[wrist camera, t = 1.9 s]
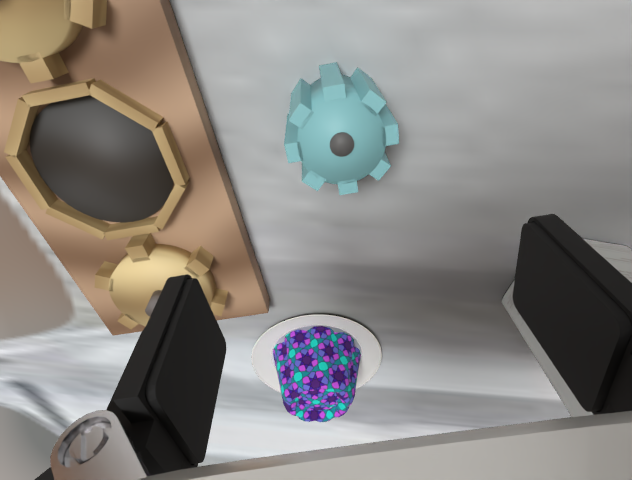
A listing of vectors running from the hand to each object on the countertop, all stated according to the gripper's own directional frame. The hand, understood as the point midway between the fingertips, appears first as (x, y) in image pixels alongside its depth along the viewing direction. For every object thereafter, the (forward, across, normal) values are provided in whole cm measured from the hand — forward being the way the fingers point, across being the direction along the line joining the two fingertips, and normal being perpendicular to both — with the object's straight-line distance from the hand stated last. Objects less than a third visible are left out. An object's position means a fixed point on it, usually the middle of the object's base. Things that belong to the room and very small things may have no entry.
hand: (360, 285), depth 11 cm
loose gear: (+15, 0, -1) cm, 15 cm away
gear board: (+15, +14, -1) cm, 20 cm away
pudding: (+16, +4, +21) cm, 27 cm away
